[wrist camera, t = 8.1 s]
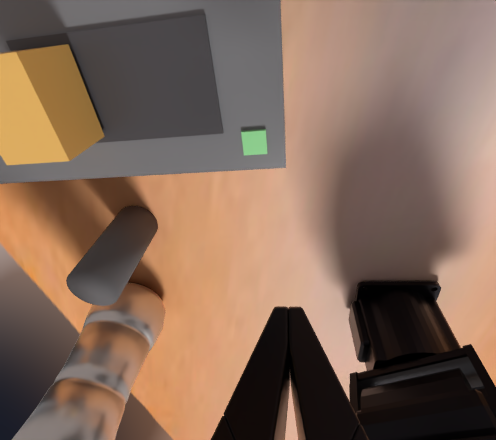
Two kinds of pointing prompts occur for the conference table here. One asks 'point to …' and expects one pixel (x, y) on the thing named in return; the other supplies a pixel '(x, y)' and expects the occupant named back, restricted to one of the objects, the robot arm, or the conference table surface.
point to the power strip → (163, 83)
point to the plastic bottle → (99, 370)
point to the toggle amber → (44, 107)
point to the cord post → (113, 257)
